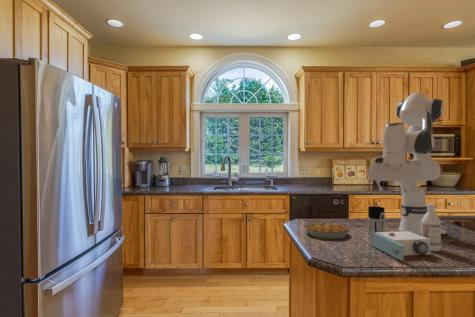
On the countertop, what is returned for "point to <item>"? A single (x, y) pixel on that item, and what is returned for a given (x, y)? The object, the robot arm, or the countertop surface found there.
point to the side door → (388, 246)
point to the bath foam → (432, 228)
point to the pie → (327, 230)
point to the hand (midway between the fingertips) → (393, 191)
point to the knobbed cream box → (409, 242)
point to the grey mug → (375, 220)
